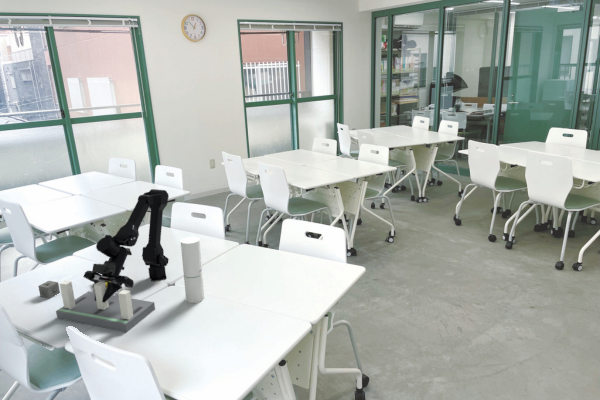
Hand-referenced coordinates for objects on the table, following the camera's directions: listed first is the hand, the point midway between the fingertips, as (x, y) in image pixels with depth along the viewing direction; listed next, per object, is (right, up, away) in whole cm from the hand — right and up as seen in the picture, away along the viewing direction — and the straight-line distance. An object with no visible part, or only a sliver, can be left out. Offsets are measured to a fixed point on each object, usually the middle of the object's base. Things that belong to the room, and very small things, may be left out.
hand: (99, 301), depth 159 cm
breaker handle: (0, -3, +2) cm, 4 cm away
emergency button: (-8, 0, +26) cm, 28 cm away
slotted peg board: (+1, -6, +4) cm, 7 cm away
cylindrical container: (+32, -2, +15) cm, 35 cm away
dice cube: (-29, -2, +19) cm, 35 cm away
